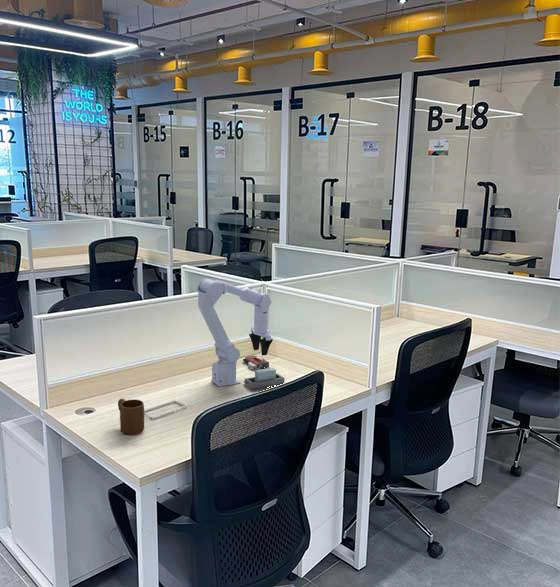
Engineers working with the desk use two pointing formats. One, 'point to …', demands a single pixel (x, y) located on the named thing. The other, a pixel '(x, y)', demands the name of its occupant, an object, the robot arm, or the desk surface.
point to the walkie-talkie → (256, 362)
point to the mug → (131, 416)
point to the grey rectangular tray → (263, 383)
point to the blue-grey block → (265, 374)
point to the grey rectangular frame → (165, 405)
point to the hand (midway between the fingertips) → (260, 352)
